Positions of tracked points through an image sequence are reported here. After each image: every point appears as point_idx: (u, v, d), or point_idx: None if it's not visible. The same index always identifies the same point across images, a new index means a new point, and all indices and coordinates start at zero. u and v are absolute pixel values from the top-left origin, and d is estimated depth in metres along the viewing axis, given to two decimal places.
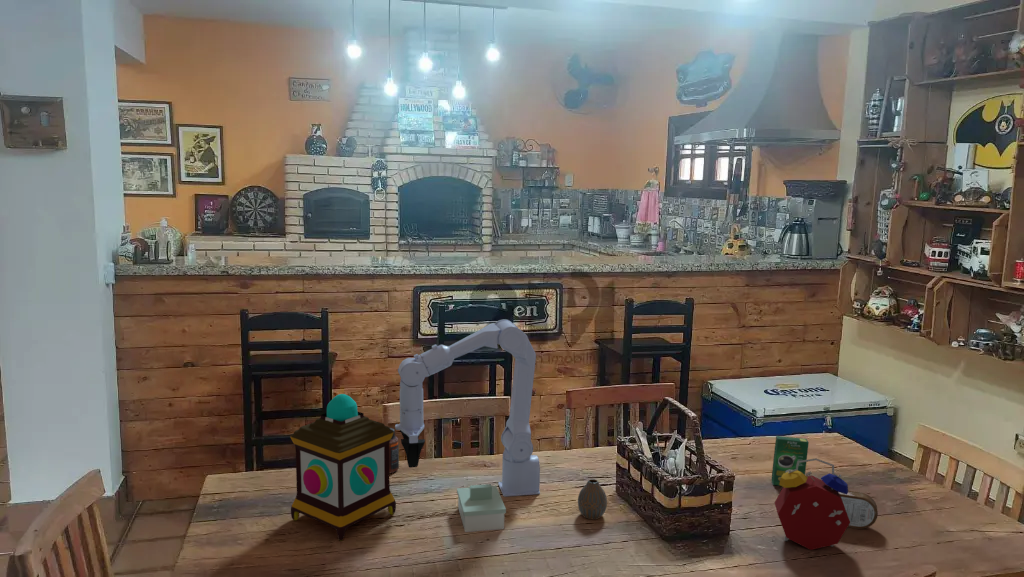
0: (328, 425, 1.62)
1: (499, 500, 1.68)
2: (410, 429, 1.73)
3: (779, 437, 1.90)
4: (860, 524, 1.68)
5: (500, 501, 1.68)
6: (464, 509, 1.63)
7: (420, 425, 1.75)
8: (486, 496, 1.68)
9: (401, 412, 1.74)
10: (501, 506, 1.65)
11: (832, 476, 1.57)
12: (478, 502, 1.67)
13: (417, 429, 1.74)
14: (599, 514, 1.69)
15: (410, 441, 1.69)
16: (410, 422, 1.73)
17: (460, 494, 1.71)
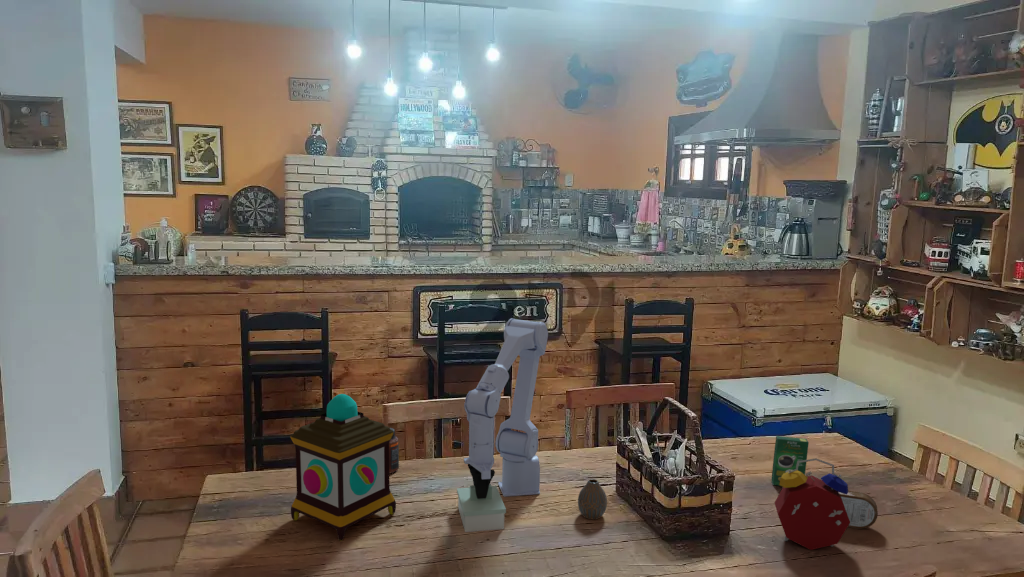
0: (328, 425, 1.62)
1: (499, 500, 1.68)
2: (481, 464, 1.65)
3: (779, 437, 1.90)
4: (860, 524, 1.68)
5: (500, 501, 1.68)
6: (464, 509, 1.63)
7: (491, 460, 1.66)
8: None
9: (471, 445, 1.65)
10: (501, 506, 1.65)
11: (832, 476, 1.57)
12: (478, 502, 1.67)
13: (488, 463, 1.65)
14: (599, 514, 1.69)
15: (483, 477, 1.61)
16: (481, 456, 1.64)
17: (460, 494, 1.71)
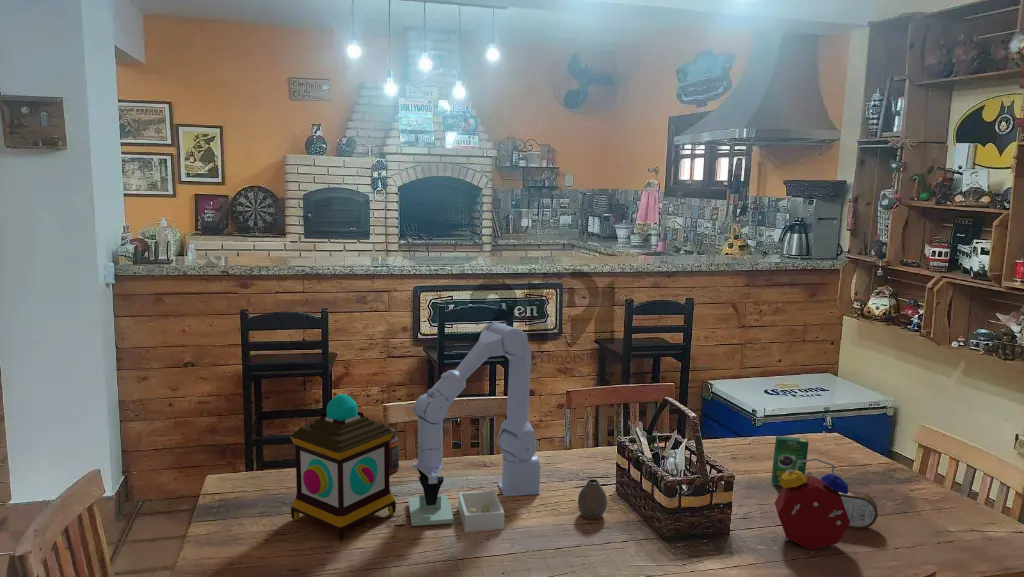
0: (328, 425, 1.62)
1: (448, 510, 1.70)
2: (429, 468, 1.66)
3: (779, 437, 1.90)
4: (860, 524, 1.68)
5: (449, 511, 1.70)
6: (412, 519, 1.65)
7: (439, 464, 1.68)
8: (435, 506, 1.71)
9: (419, 450, 1.67)
10: (449, 516, 1.67)
11: (832, 476, 1.57)
12: (427, 512, 1.69)
13: (436, 468, 1.67)
14: (599, 514, 1.69)
15: (429, 482, 1.62)
16: (429, 461, 1.66)
17: (410, 504, 1.73)
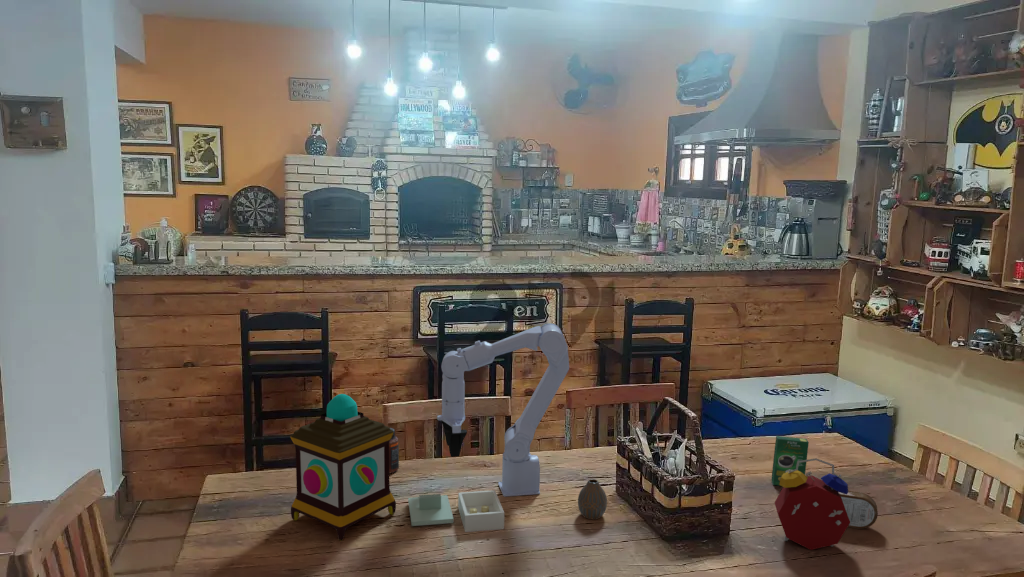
0: (328, 425, 1.62)
1: (448, 510, 1.70)
2: (452, 420, 1.79)
3: (779, 437, 1.90)
4: (860, 524, 1.68)
5: (449, 511, 1.70)
6: (412, 519, 1.65)
7: (462, 416, 1.81)
8: (435, 506, 1.71)
9: (443, 403, 1.80)
10: (449, 516, 1.67)
11: (832, 476, 1.57)
12: (427, 512, 1.69)
13: (459, 420, 1.80)
14: (599, 514, 1.69)
15: (453, 431, 1.75)
16: (452, 413, 1.79)
17: (410, 504, 1.73)
